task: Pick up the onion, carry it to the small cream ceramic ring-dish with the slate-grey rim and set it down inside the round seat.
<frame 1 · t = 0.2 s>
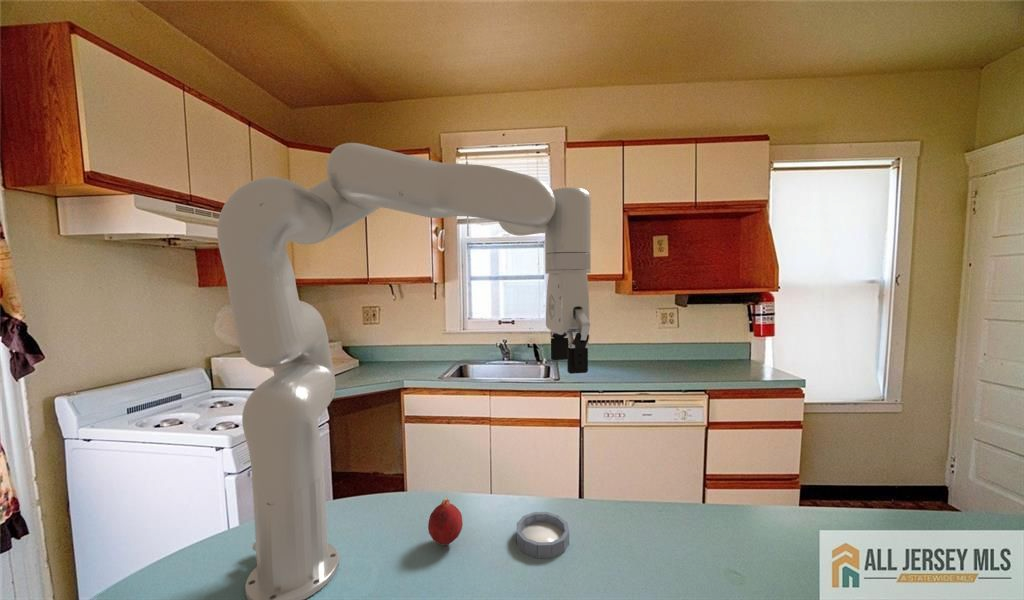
hand: (568, 365, 67), 31 cm above the countertop, tool pointing down, fingers open, 9 cm apart
seat dish: (542, 539, 69), on the countertop
onion: (445, 545, 68), on the countertop
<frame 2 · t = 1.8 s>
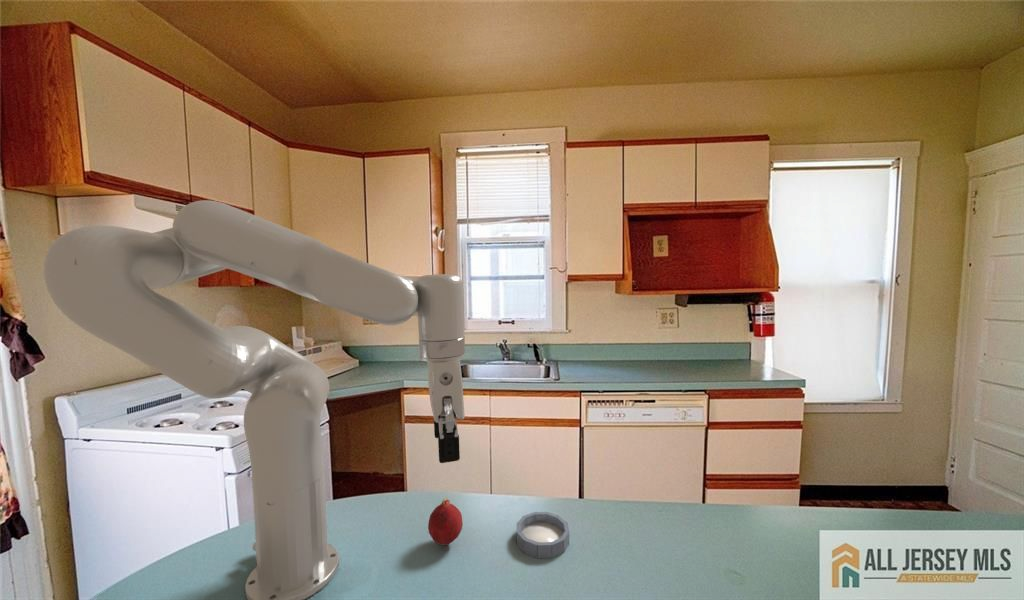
hand: (446, 448, 67), 17 cm above the countertop, tool pointing down, fingers open, 9 cm apart
nothing on the countertop moved.
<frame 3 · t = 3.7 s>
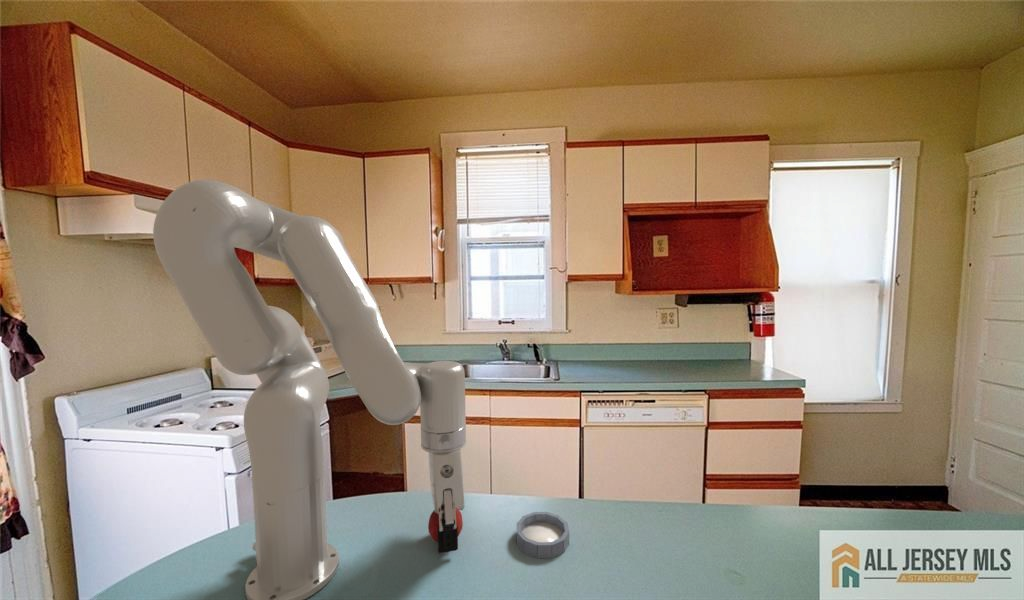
hand: (445, 536, 68), 1 cm above the countertop, tool pointing down, fingers closed on onion, 5 cm apart
onion: (446, 545, 68), on the countertop, touching gripper
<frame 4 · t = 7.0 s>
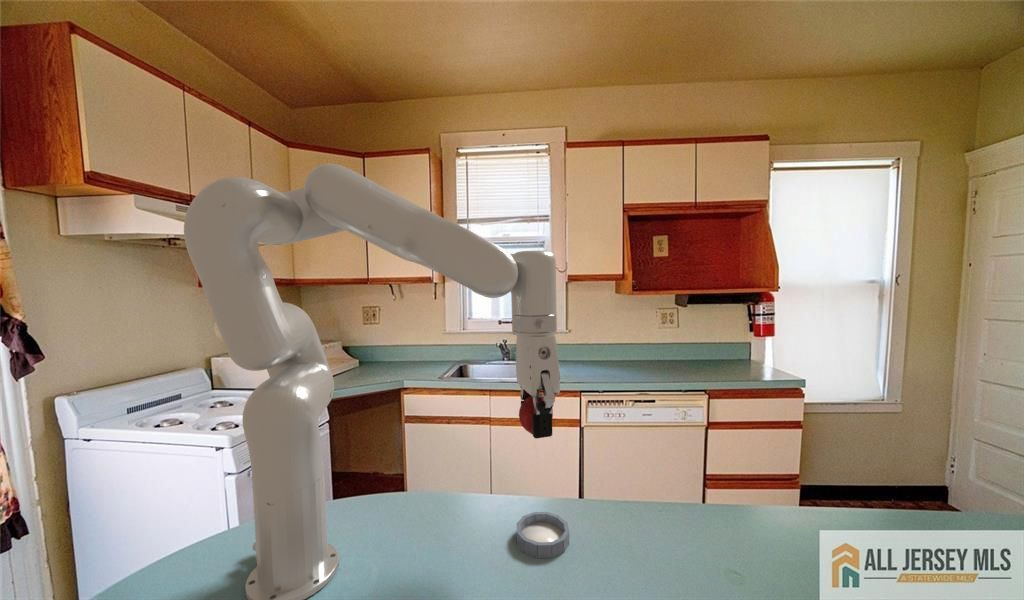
hand: (536, 428, 68), 20 cm above the countertop, tool pointing down, fingers closed on onion, 5 cm apart
onion: (536, 436, 68), point 18 cm above the countertop, touching gripper
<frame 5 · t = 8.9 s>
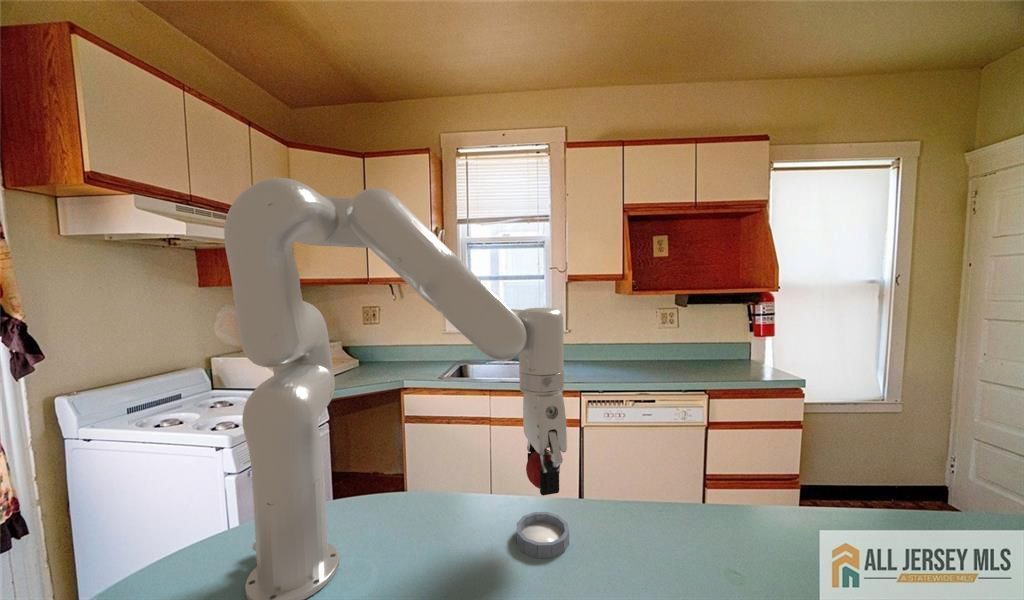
hand: (542, 482, 68), 10 cm above the countertop, tool pointing down, fingers closed on onion, 5 cm apart
onion: (543, 490, 68), point 9 cm above the countertop, touching gripper
when the fingers open (4 cm above the countertop, at t = 10.6 s): onion drops 2 cm, resting on seat dish.
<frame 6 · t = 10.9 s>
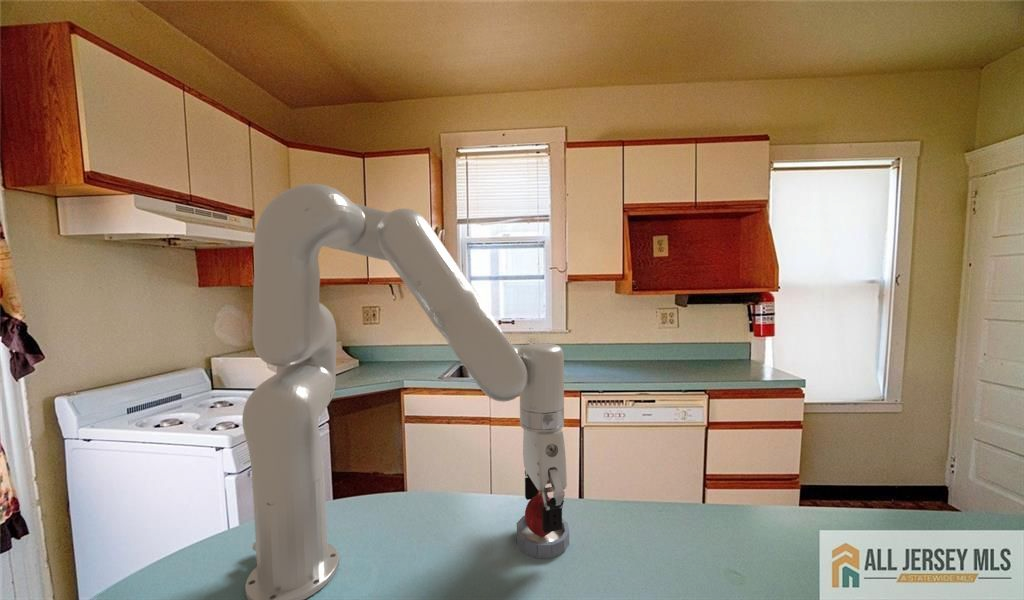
hand: (542, 512, 69), 5 cm above the countertop, tool pointing down, fingers open, 9 cm apart
onion: (542, 537, 69), resting on seat dish
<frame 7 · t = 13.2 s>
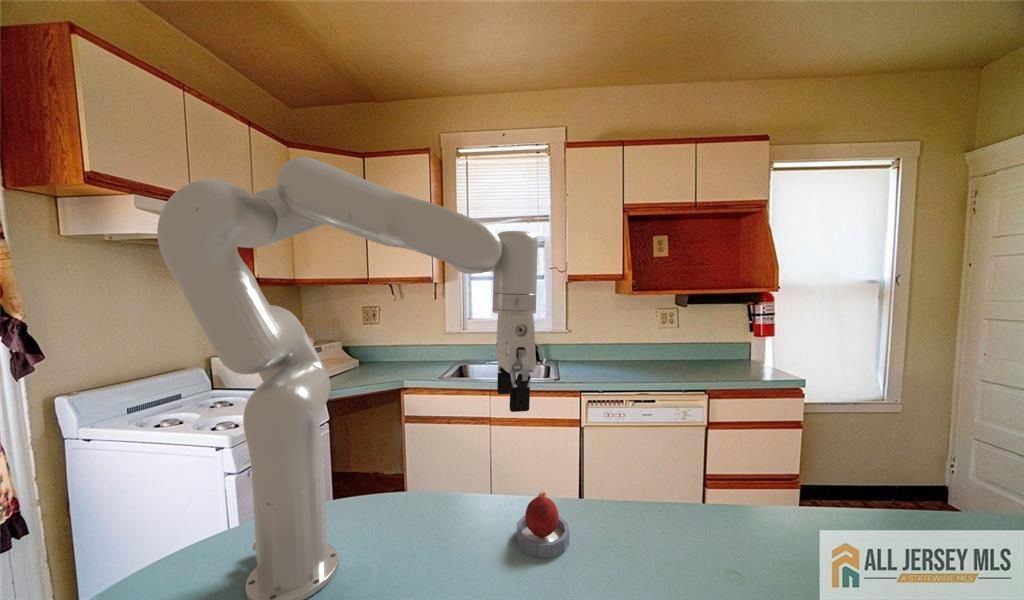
hand: (512, 401, 69), 24 cm above the countertop, tool pointing down, fingers open, 9 cm apart
nothing on the countertop moved.
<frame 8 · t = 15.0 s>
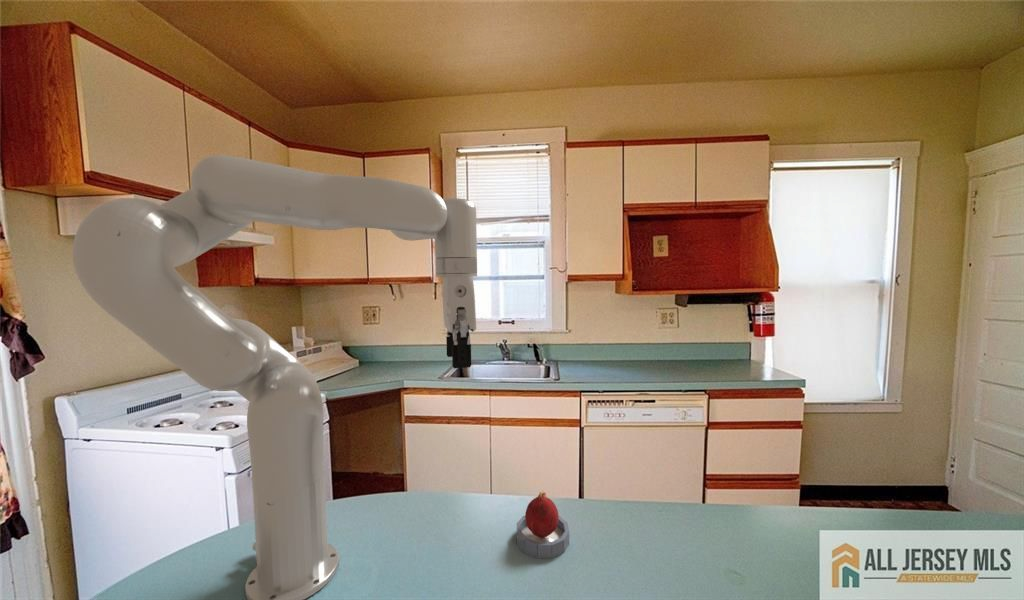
hand: (458, 361, 73), 30 cm above the countertop, tool pointing down, fingers open, 9 cm apart
nothing on the countertop moved.
at the end: onion 0.3 cm off-centre on the seat dish, point 0.4 cm above the seat dish's base; the gripper is holding nothing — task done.
